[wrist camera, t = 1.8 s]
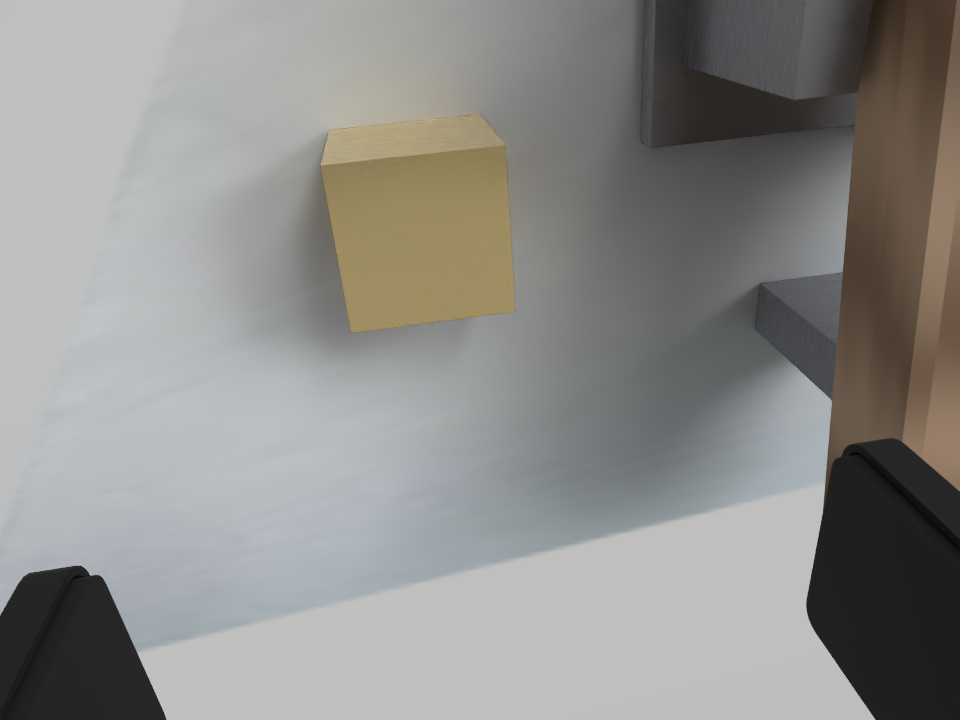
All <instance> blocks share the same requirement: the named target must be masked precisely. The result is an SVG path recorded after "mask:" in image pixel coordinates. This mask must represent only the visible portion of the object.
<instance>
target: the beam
mask: <svg viewBox="0 0 960 720" xmlns="http://www.w3.org/2000/svg"><path fill="white" fill-rule="evenodd" d="M887 438H894V439H898V440H900V441H901V442H903V443H904V444H905V445H907V446H908V447H909V448H910V449H911V450H912V451H914V452H915V453H916V454H917V455H918V456H919V457H921V458H922V459H923V460H924V461H925V462H926V463H927V464H929V465H930V466H931V467H932V468H933V469H934V470H936V471H937V472H938V473H939V474H940V475H941V476H942V477H944V478H945V479H946V480H947V481H948V482H949V483H951V484H952V485H953V486H954V487H955V488H956V489H957V490H959V491H960V0H873V5H872V11H871V17H870V23H869V29H868V35H867V42H866V48H865V54H864V60H863V66H862V72H861V78H860V84H859V90H858V96H857V108H856V120H855V132H854V144H853V156H852V169H851V181H850V193H849V205H848V217H847V229H846V241H845V253H844V265H843V277H842V289H841V301H840V314H839V326H838V338H837V350H836V362H835V374H834V386H833V398H832V410H831V422H830V434H829V446H828V458H827V471H826V483H825V496H824V505H825V499H826V494H827V489H828V483H829V478H830V473H831V467H832V464H833V462H834V460H835V459H836V458H839V457H841V456H842V453H843V450H844V449H845V448H846V447H847V446H848V445H851V444H855V443H861V442H868V441H874V440H880V439H887ZM823 510H824V508H823Z"/></svg>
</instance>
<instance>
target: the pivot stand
mask: <svg viewBox="0 0 960 720" xmlns="http://www.w3.org/2000/svg"><path fill="white" fill-rule="evenodd" d="M872 5H873V0H645V13H644V50H643V87H642V124H641V142H642V143H644V144H645V145H647V146H648V147H650V148H655V147H664V146H673V145H682V144H690V143H699V142H708V141H716V140H725V139H734V138H742V137H751V136H760V135H769V134H777V133H786V132H795V131H803V130H812V129H821V128H829V127H838V126H847V125H855V120H856V108H857V96H858V90H859V84H860V78H861V72H862V66H863V60H864V54H865V48H866V42H867V35H868V29H869V23H870V17H871V11H872Z"/></svg>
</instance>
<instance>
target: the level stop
mask: <svg viewBox="0 0 960 720" xmlns="http://www.w3.org/2000/svg"><path fill="white" fill-rule="evenodd" d="M842 277H843V273H836V274H828V275H820V276H813V277H805V278H798V279H790V280H783V281H775V282H768V283H760V292H759V300H758V309H757V317H756V326H755V329H756V330H757V331H758V332H759V333H760V334H761V335H762V336H763V337H764V338H765V339H766V340H768V341H769V342H770V343H771V344H772V345H773V346H774V347H775V348H776V349H777V350H778V351H779V352H781V353H782V354H783V355H784V356H785V357H786V358H787V359H788V360H789V361H790V362H791V363H792V364H794V365H795V366H796V367H797V368H798V369H799V370H800V371H801V372H802V373H803V374H804V375H805V376H806V377H808V378H809V379H810V380H811V381H812V382H813V383H814V384H815V385H816V386H817V387H818V388H819V389H821V390H822V391H823V392H824V393H825V394H826V395H827V396H828V397H829V398H830V399H831V400H832V398H833V386H834V374H835V362H836V350H837V338H838V326H839V314H840V301H841V289H842Z"/></svg>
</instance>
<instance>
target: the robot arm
mask: <svg viewBox="0 0 960 720" xmlns="http://www.w3.org/2000/svg"><path fill="white" fill-rule="evenodd" d="M806 607H807V613H808V617H809V620H810V623H811V625H812V627H813V629H814V630H815V632H816V634H817V635H818V637H819V638H820V640H821V641H822V642H823V644H824V645H825V647H826V648H827V650H828V651H829V653H830V654H831V656H832V657H833V658H834V660H835V661H836V663H837V664H838V666H839V667H840V669H841V670H842V672H843V673H844V674H845V676H846V677H847V679H848V680H849V682H850V683H851V685H852V686H853V687H854V689H855V690H856V692H857V693H858V695H859V696H860V698H861V699H862V701H863V702H864V704H865V705H866V706H867V708H868V709H869V711H870V712H871V714H872V715H873V717H874V718H875V719H876V720H960V491H959V490H957V489H956V488H955V487H954V486H953V485H952V484H951V483H949V482H948V481H947V480H946V479H945V478H944V477H942V476H941V475H940V474H939V473H938V472H937V471H936V470H934V469H933V468H932V467H931V466H930V465H929V464H927V463H926V462H925V461H924V460H923V459H922V458H921V457H919V456H918V455H917V454H916V453H915V452H914V451H912V450H911V449H910V448H909V447H908V446H907V445H905V444H904V443H903V442H901V441H900V440H898V439H894V438H887V439H880V440H874V441H868V442H861V443H855V444H851V445H848V446H847V447H846V448H845V449H844V450H843V453H842V456H841V457H839V458H836V459H835V460H834V462H833V464H832V467H831V473H830V478H829V483H828V489H827V494H826V499H825V505H824V510H823V516H822V521H821V526H820V532H819V537H818V542H817V548H816V553H815V559H814V564H813V569H812V574H811V580H810V586H809V591H808V596H807V603H806ZM0 720H166V717H165V714H164V712H163V710H162V707H161V705H160V703H159V701H158V699H157V696H156V694H155V692H154V689H153V687H152V685H151V683H150V681H149V678H148V677H147V674H146V672H145V669H144V667H143V665H142V663H141V661H140V659H139V656H138V654H137V652H136V649H135V647H134V645H133V643H132V641H131V638H130V636H129V634H128V632H127V629H126V627H125V625H124V623H123V621H122V618H121V616H120V614H119V612H118V609H117V607H116V605H115V603H114V601H113V598H112V596H111V594H110V592H109V589H108V587H107V585H106V583H105V581H104V580H103V578H102V577H101V576H99V575H93V576H90V575H89V573H88V571H87V570H86V569H85V568H83V567H82V566H72V567H65V568H59V569H53V570H46V571H40V572H34V573H29V574H27V575H26V576H24V577H23V578H22V580H21V581H20V582H19V584H18V585H17V587H16V589H15V591H14V593H13V594H12V596H11V598H10V600H9V601H8V603H7V605H6V607H5V608H4V610H3V612H2V614H1V615H0Z"/></svg>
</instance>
